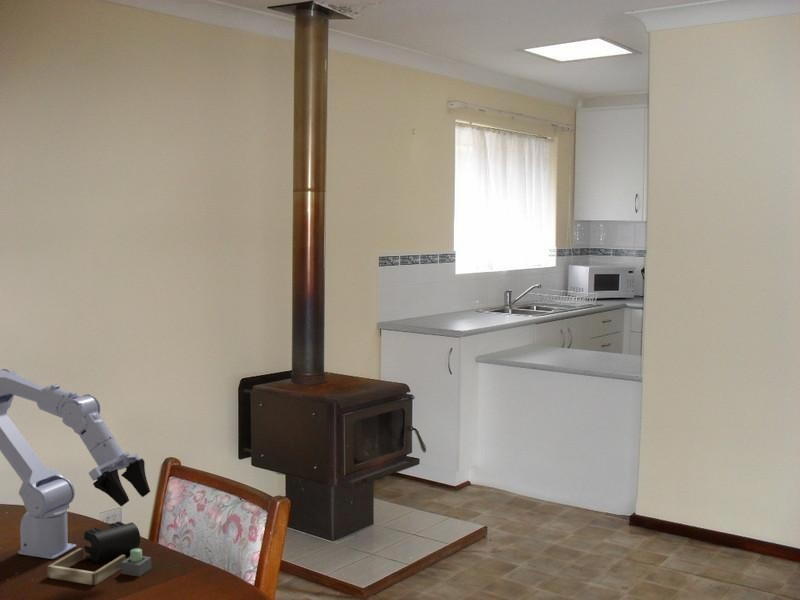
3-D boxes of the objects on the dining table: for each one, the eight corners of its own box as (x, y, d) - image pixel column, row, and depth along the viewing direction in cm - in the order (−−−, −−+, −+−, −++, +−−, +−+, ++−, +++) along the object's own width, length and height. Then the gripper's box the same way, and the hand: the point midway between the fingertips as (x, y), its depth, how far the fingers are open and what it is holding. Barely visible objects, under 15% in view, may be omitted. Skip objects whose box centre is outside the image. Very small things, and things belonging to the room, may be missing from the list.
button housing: (121, 573, 180) (121, 562, 180) (133, 565, 184) (133, 554, 184) (139, 576, 179) (139, 565, 179) (151, 568, 183) (151, 557, 183)
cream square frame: (47, 577, 178) (47, 566, 177) (79, 558, 188) (79, 548, 187) (95, 585, 174) (95, 574, 174) (125, 565, 184) (125, 555, 184)
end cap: (99, 568, 183) (99, 537, 182) (82, 559, 188) (82, 529, 187) (141, 554, 191) (140, 525, 190) (123, 546, 195) (123, 517, 195)
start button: (128, 566, 181) (127, 551, 180) (134, 562, 183) (134, 547, 183) (137, 568, 180) (137, 553, 180) (144, 563, 182) (144, 549, 182)
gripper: (93, 442, 176) (128, 497, 174) (135, 429, 190) (168, 480, 188) (70, 460, 178) (104, 516, 176) (113, 446, 191) (146, 497, 189)
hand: (136, 498), depth 182 cm, fingers open, 7 cm apart
